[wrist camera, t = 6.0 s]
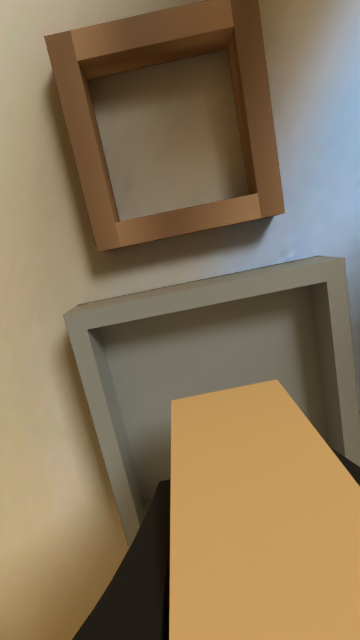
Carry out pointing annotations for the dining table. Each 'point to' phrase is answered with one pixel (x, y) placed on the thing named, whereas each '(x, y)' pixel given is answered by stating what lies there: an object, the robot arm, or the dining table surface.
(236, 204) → the socket collar
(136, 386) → the tray
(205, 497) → the tan rectangular block
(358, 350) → the dining table surface
